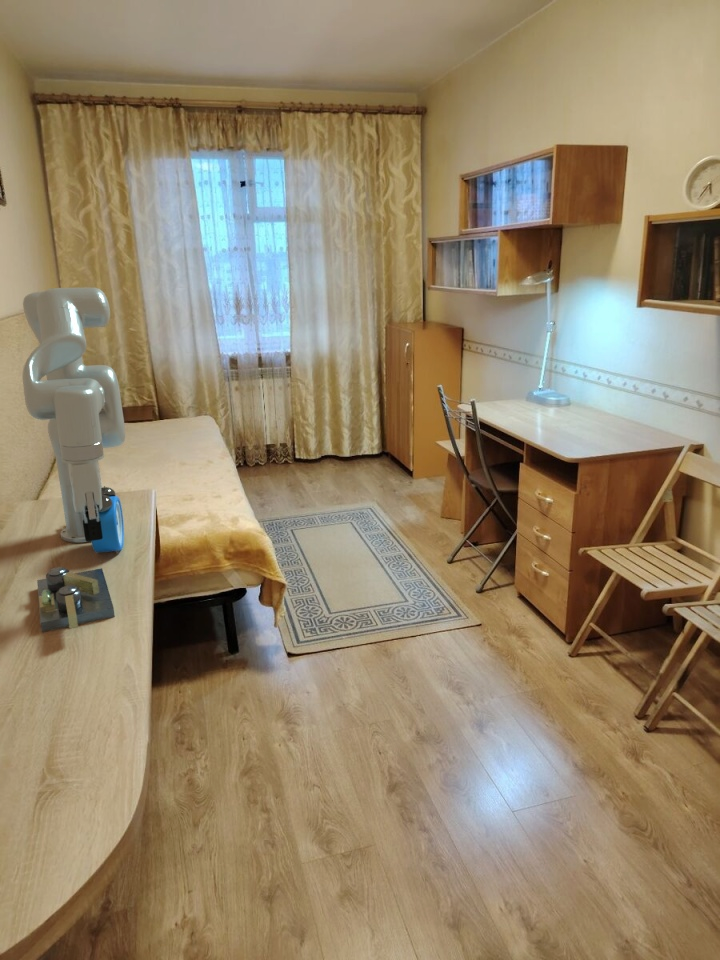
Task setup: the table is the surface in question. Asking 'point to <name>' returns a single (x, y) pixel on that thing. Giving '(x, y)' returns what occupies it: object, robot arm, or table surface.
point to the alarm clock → (110, 523)
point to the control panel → (88, 612)
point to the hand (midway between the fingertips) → (93, 538)
